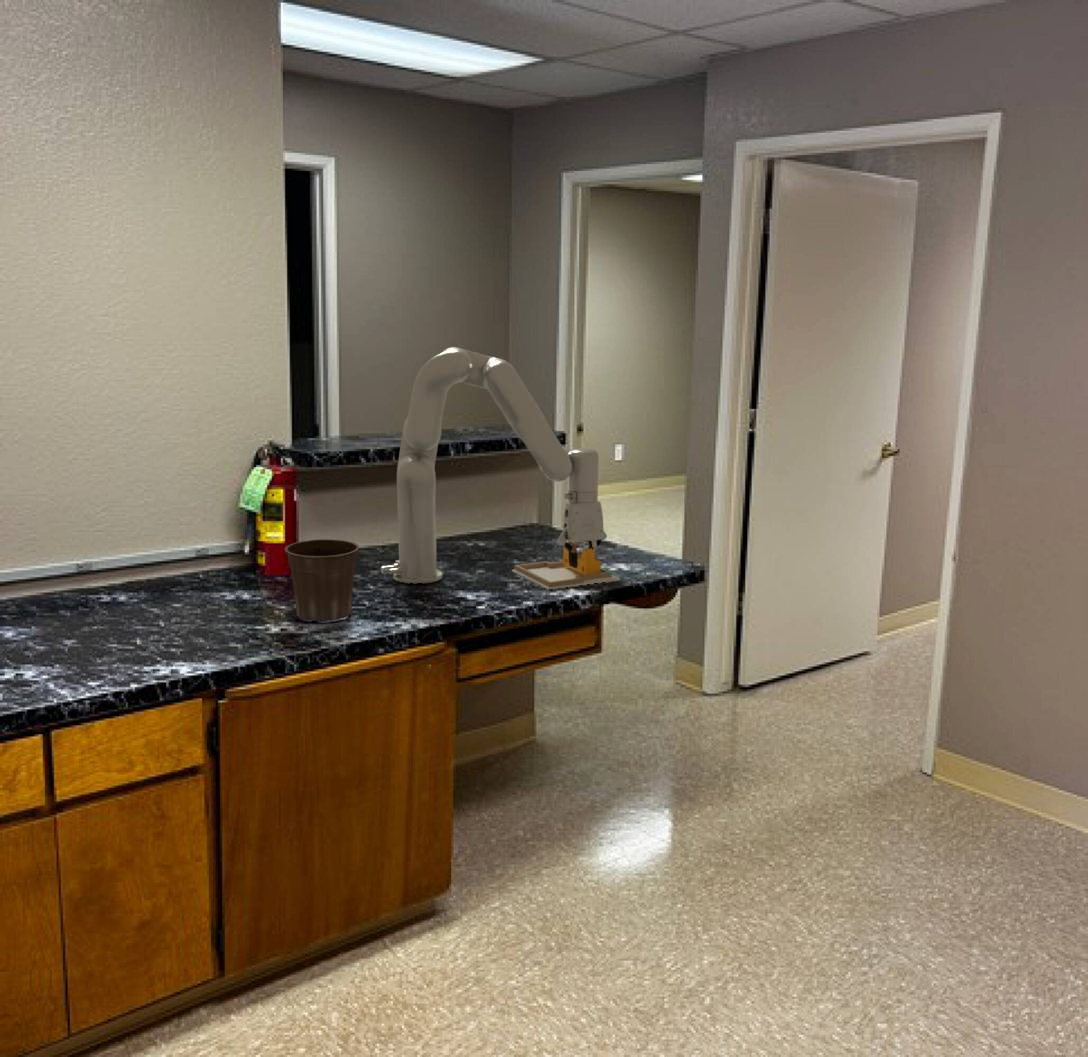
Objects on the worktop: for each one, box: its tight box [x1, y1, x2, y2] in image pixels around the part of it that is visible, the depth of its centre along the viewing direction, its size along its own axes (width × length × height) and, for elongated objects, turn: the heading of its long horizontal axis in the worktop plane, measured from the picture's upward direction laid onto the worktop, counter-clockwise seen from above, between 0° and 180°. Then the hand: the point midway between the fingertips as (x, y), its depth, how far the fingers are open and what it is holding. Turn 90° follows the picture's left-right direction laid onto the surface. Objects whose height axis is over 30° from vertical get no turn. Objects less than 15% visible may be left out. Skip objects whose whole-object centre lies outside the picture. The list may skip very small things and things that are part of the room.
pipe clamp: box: [562, 540, 602, 575], centre depth 281 cm, size 12×4×6 cm, turn 28°
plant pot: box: [284, 538, 360, 622], centre depth 242 cm, size 16×16×16 cm
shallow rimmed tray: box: [511, 560, 621, 591], centre depth 280 cm, size 21×20×2 cm
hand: (581, 564), depth 281 cm, fingers closed on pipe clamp, 4 cm apart
